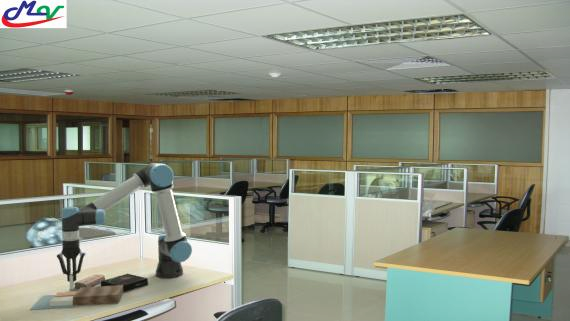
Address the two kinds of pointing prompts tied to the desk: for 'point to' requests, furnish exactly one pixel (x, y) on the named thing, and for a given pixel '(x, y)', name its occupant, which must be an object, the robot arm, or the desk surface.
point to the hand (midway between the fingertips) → (72, 287)
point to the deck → (98, 295)
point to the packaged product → (89, 282)
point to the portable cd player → (126, 282)
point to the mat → (47, 303)
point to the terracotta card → (65, 294)
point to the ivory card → (61, 301)
